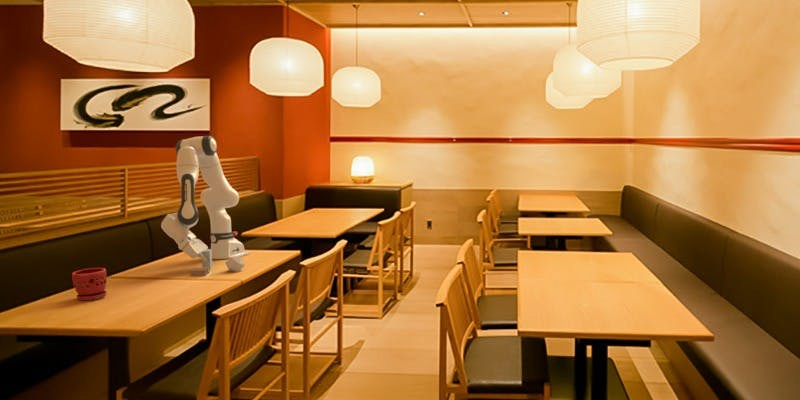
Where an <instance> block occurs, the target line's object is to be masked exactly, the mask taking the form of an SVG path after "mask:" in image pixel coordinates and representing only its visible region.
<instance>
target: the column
mask: <svg viewBox="0 0 800 400" xmlns="http://www.w3.org/2000/svg"><path fill="white" fill-rule="evenodd" d="M201 253H202V254H203V255H204V256H205V257H207V258H208V260H207V261H206V262H205V261H203V260H202V259H201V266H202V267H209V271H211V270H213V259H212V250H211V249H207V250H204V251H202V252H201Z"/></svg>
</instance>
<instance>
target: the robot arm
mask: <svg viewBox="0 0 800 400" xmlns="http://www.w3.org/2000/svg"><path fill="white" fill-rule="evenodd" d="M174 149H175V153H176V155H177V157H176V176H177V181H178V183H179V184H180V191H181V193H180V194H181V196H180V197H181V198H180V199H181V201H180V202H181V203H180V206H179V208H178V211H177V212H174V213H167V214H166V215H165V216H164V217H163V219H162V221H161V223H160V227H161V229H162V230H163V232H164V233H166V235H167V236H168V237H169V238H171V239H173V240H174V241H175V243H176V244H177V245H178V249H179V250H181V251H182V252H183V253H184V254H185V255H187V256H188V257H190V258H191V259H193V260H194V259H196V258H197V257H198V258H199V259H200V260H201V261H202V260H203V261H205V262H206V261H207V260H208V258H207V257H205V256H204V255H203V254H202V253H201V252H202V251H204V250H209V247H208V245H207V244H205V243H204V242H203V241H202V240H201V239H199V238H197V236H196V235H195V233H193V232H192V231H191V230H190V229H191V228H192V227H195V226H196V225H197V223H198V221H199V217H200V212H199V209H198V208H197V206H196V203H195V187H196V185H197V184H196V183H197V182H198V181H199V175H200V172H201V176H202V180H203V181H204V182H205V183H206V185H208V186H209V187H207V188H204V189H203V190H202V191H201V192H200V196H199V197H200V202H201V203H202V205H204V206H205V208H206V211H207V213H208V216H209V220H210V221H209V223H210V235H209V236H210V242H211V243H210V250H212V260H226V259H227V260H228V259H229V258H230V257H231V256H241V257H244V256H248V255H250V253H249V252H248V251H245V246H244V244H243V242H241V241H239V239H236V238H235V236H237V235H238V231H232V219H231V216H230V215H229V214H228V213H227V211H226V209H227V208H228V209H229V208H233V207H236V206H238V203H239V201H240V195H239V193H238V192H237V190H235V188H233V187H232V186H231V184H230V183H229V181H228V179H226V176H225V174H224V171H223V167H222V165H221V160H220V159H219V156H218V153H217V149H218V144H217V141H216V139H215V138H214V137H213V136H212V135H204V136H193V137H189V138H186V139H181V140H179V141H177V143H176V145H175V148H174Z"/></svg>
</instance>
